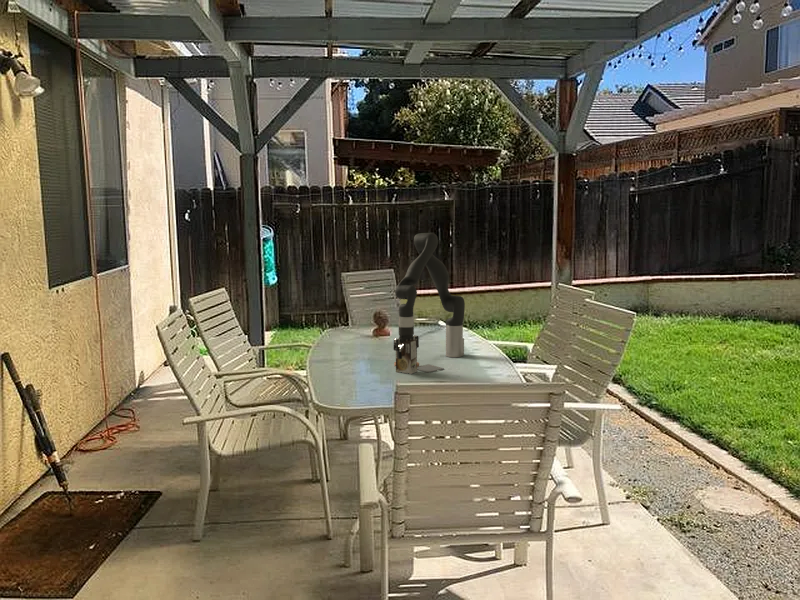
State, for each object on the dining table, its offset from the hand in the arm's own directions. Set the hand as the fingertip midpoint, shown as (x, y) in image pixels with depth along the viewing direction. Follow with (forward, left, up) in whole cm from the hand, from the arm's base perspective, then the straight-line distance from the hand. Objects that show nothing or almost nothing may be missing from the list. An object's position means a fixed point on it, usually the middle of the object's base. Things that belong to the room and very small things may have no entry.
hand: (406, 357), depth 340 cm
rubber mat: (-12, +2, -7) cm, 14 cm away
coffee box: (0, 0, -7) cm, 7 cm away
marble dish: (-7, -9, -7) cm, 13 cm away
